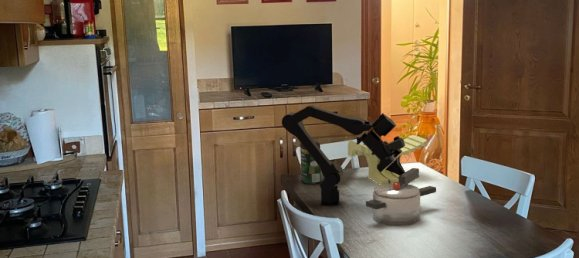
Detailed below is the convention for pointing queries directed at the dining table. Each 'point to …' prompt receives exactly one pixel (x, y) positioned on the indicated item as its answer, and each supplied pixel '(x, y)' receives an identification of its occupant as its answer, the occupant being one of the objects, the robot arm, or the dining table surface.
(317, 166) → the coffee jar
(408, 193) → the pressure cooker lid
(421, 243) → the dining table surface
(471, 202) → the dining table surface
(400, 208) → the pressure cooker pot
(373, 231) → the dining table surface
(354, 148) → the slatted curved stool
